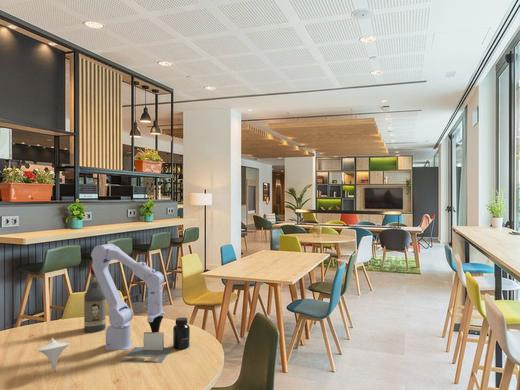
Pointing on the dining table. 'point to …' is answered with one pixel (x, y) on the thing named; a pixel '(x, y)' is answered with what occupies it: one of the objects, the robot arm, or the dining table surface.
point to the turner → (140, 359)
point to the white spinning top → (53, 351)
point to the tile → (153, 340)
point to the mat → (147, 354)
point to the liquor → (94, 307)
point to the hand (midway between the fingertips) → (155, 334)
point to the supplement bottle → (181, 334)
